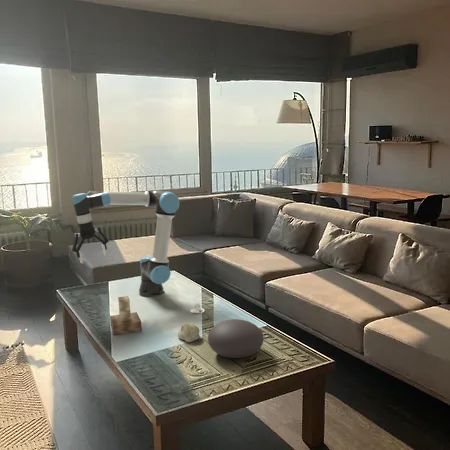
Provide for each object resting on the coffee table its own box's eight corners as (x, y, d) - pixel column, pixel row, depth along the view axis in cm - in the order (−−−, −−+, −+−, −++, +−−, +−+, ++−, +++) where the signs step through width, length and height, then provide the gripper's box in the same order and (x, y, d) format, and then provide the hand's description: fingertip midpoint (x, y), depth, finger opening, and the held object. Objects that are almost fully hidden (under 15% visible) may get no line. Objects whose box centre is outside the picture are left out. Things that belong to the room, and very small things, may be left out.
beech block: (129, 316, 256) (128, 295, 254) (130, 319, 252) (129, 299, 249) (119, 317, 255) (118, 297, 252) (120, 321, 250) (119, 300, 248)
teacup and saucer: (197, 315, 269) (197, 308, 269) (186, 312, 274) (186, 305, 273) (207, 310, 276) (207, 303, 275) (196, 307, 281) (196, 301, 280)
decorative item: (208, 329, 239) (193, 327, 232) (201, 347, 239) (186, 344, 232) (192, 320, 248) (178, 317, 241) (186, 336, 248) (171, 334, 240)
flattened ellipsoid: (246, 372, 205) (246, 338, 202) (197, 358, 218) (196, 326, 215) (273, 349, 226) (273, 318, 223) (226, 338, 239) (226, 308, 236)
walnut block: (137, 321, 263) (136, 312, 262) (141, 330, 250) (141, 321, 249) (110, 324, 258) (109, 315, 257) (113, 335, 245) (113, 325, 244)
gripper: (104, 216, 277) (112, 252, 282) (60, 227, 264) (69, 265, 268) (109, 216, 271) (117, 253, 275) (64, 228, 258) (73, 267, 262)
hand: (93, 259), depth 272 cm, fingers open, 13 cm apart
